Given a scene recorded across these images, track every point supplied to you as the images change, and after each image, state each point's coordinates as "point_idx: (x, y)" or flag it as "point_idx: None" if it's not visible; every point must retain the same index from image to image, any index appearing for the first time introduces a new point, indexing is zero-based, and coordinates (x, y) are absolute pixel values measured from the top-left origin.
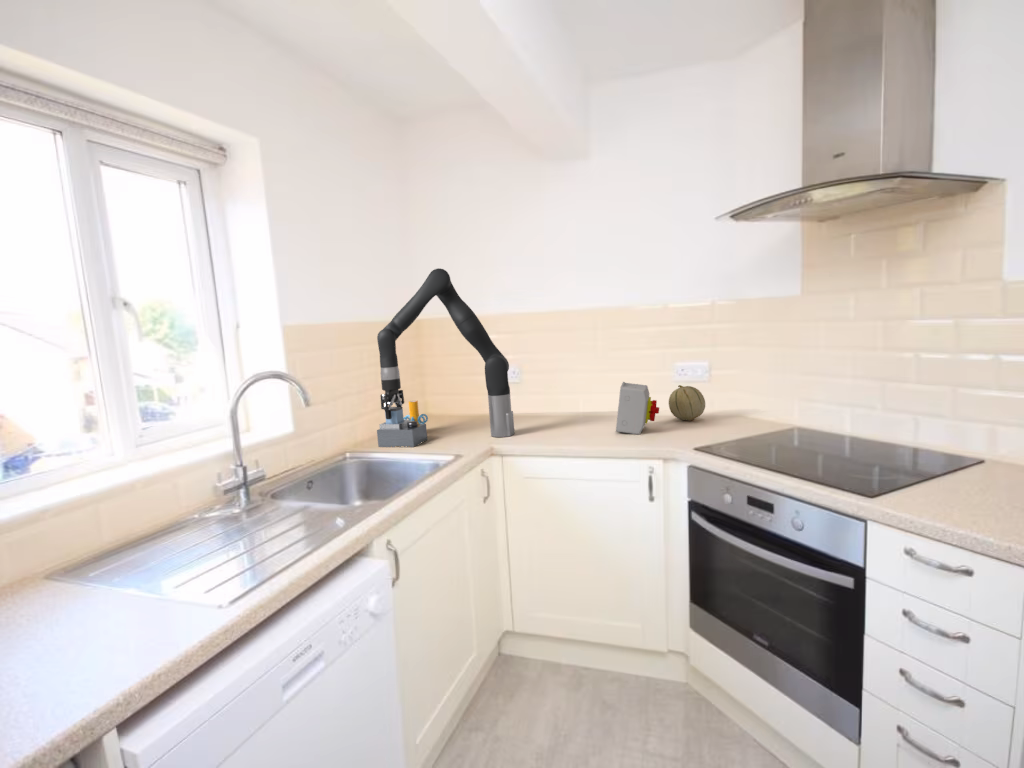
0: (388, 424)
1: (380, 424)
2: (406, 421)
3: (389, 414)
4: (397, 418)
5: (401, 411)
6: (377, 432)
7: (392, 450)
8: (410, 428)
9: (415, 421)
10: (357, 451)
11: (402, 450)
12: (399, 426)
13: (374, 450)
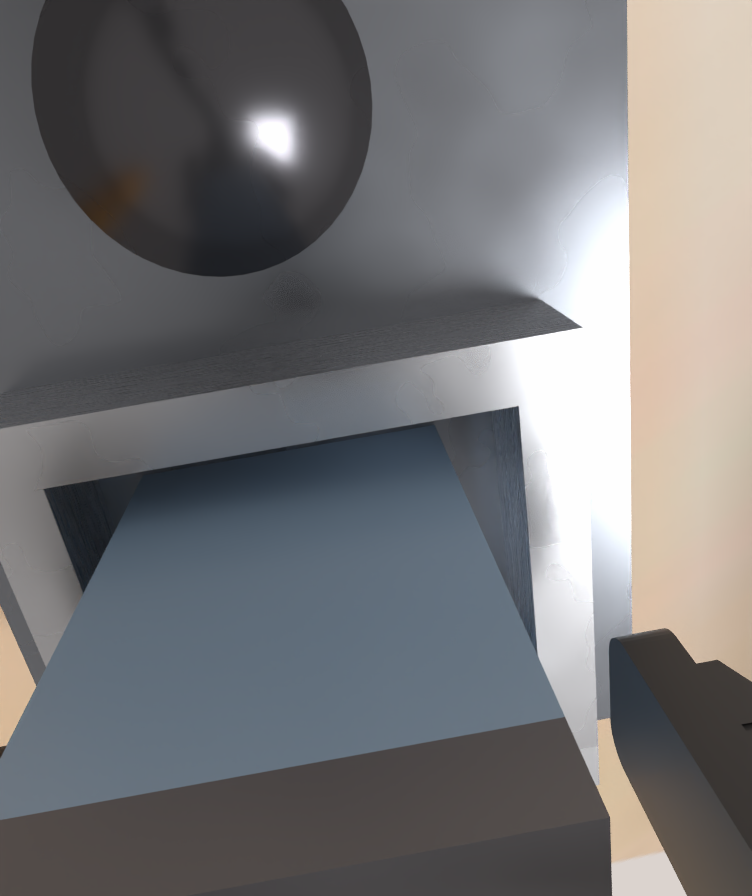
0: (590, 605)
1: (596, 765)
2: (155, 399)
3: (735, 751)
4: (450, 541)
5: (120, 723)
6: None
7: (711, 205)
8: (445, 11)
9: (109, 18)
10: (748, 639)
11: (714, 13)
12: (549, 315)
13: (706, 476)
